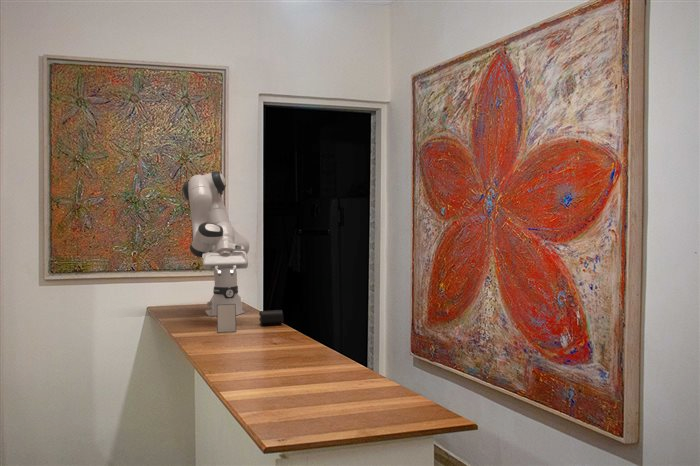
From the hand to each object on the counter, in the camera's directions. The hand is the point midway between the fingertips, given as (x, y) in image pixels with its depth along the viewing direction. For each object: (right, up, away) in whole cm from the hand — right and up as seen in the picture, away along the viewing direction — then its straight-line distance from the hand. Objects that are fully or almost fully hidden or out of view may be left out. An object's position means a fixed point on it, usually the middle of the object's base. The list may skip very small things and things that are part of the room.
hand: (225, 274), depth 327 cm
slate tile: (+3, -24, -12) cm, 27 cm away
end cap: (+20, -23, +5) cm, 31 cm away
